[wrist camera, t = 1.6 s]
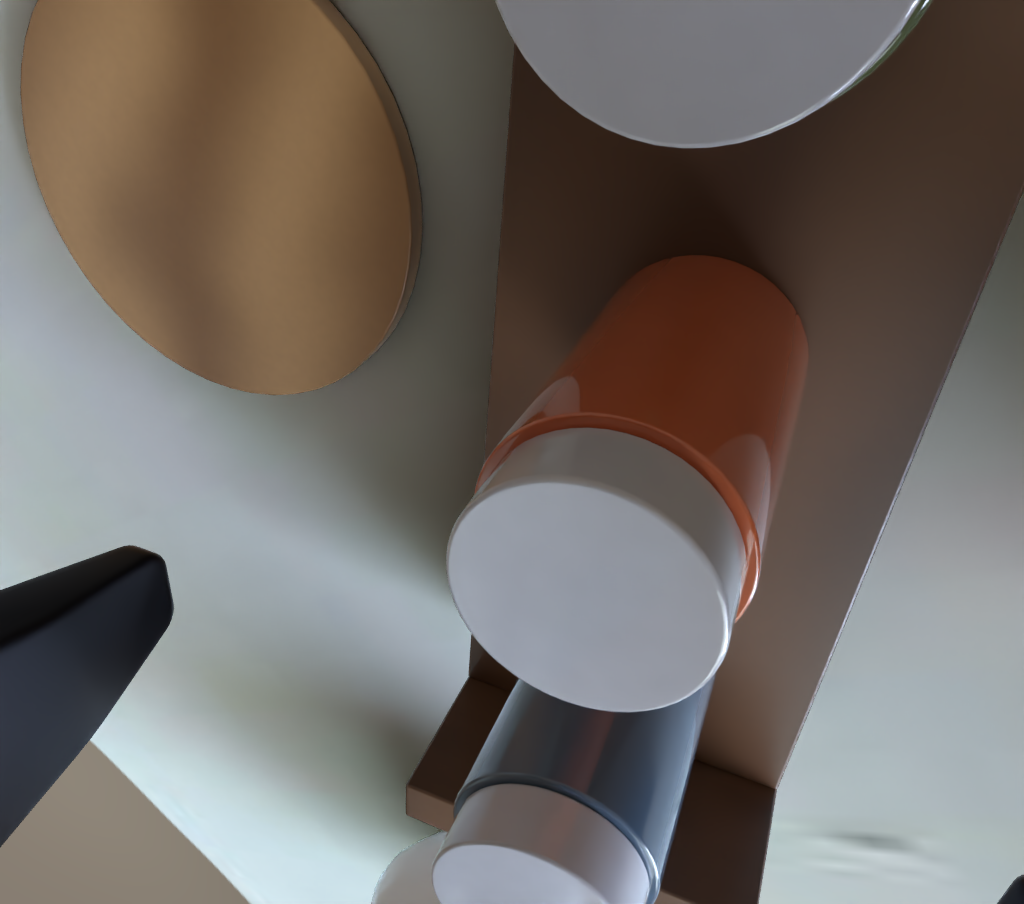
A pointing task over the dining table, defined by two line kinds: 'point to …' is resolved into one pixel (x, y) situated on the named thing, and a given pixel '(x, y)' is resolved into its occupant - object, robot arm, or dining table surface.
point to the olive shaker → (705, 60)
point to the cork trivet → (227, 180)
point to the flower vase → (410, 874)
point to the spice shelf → (831, 373)
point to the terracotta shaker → (637, 491)
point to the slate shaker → (570, 803)
